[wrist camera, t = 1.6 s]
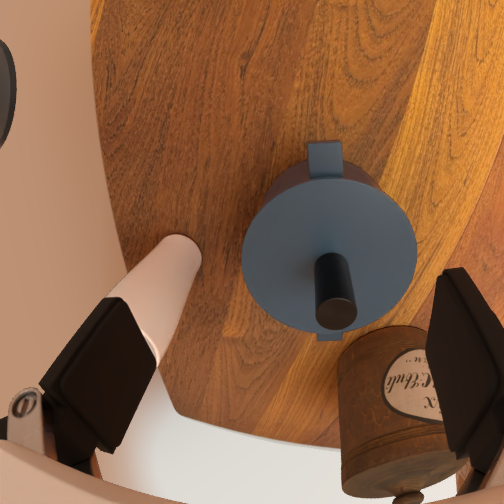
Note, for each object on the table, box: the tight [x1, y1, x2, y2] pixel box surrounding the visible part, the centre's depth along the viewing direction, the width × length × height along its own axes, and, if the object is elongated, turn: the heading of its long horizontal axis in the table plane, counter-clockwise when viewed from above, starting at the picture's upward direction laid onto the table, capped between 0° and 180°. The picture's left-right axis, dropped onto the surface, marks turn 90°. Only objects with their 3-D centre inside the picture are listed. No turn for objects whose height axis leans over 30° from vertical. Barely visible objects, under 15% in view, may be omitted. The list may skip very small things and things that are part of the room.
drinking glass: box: [105, 234, 202, 368], centre depth 29 cm, size 7×7×15 cm
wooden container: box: [337, 326, 469, 504], centre depth 30 cm, size 15×15×22 cm
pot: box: [262, 140, 382, 341], centre depth 27 cm, size 13×18×8 cm
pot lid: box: [241, 176, 417, 334], centre depth 21 cm, size 14×14×7 cm
